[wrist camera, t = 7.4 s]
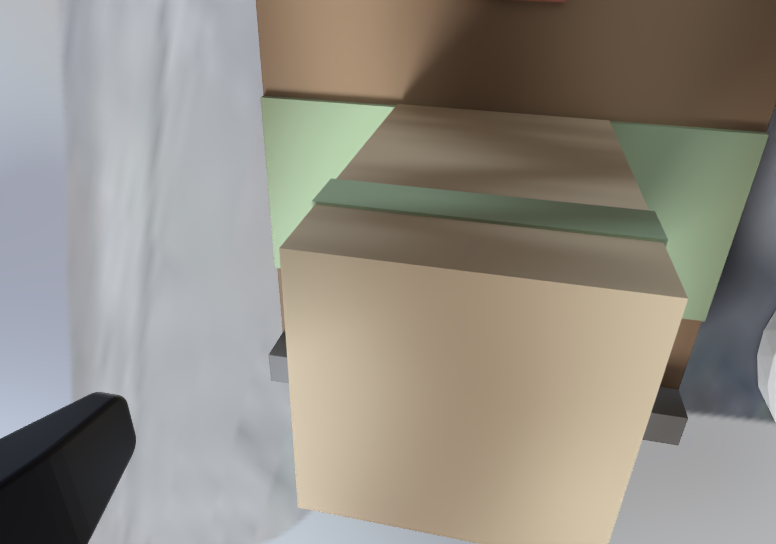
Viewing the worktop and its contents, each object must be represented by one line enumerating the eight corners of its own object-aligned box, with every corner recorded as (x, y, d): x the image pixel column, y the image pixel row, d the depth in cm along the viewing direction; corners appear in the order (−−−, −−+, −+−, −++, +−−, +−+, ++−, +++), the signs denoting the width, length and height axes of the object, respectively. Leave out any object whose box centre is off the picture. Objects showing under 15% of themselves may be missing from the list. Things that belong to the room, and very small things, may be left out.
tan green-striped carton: (611, 118, 14) (694, 295, 7) (572, 304, 16) (603, 570, 9) (395, 101, 14) (275, 244, 8) (390, 281, 17) (295, 509, 10)
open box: (772, -47, 14) (854, -43, 11) (651, 355, 20) (678, 445, 16) (295, -59, 16) (228, -59, 13) (313, 309, 22) (271, 380, 18)
